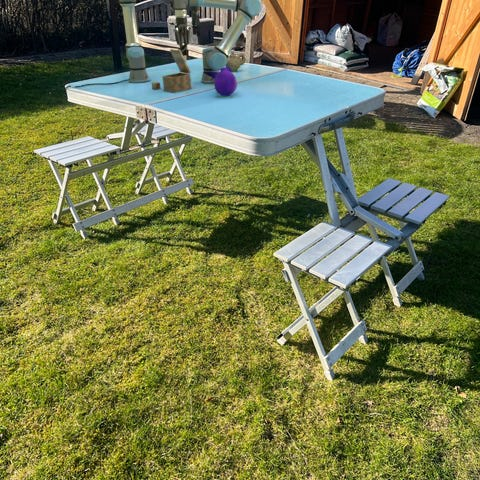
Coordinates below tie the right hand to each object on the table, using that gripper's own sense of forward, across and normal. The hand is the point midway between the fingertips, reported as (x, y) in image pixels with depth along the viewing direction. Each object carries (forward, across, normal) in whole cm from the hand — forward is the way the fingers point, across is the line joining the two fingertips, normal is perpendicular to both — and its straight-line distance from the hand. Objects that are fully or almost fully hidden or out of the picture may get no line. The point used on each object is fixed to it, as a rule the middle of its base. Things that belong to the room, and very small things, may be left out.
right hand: (184, 55), depth 305 cm
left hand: (-7, +43, +35) cm, 56 cm away
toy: (+21, +2, -33) cm, 40 cm away
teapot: (+21, +67, +19) cm, 73 cm away
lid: (+4, -4, 0) cm, 5 cm away
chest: (+21, -8, 0) cm, 23 cm away
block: (+21, -16, +14) cm, 30 cm away
